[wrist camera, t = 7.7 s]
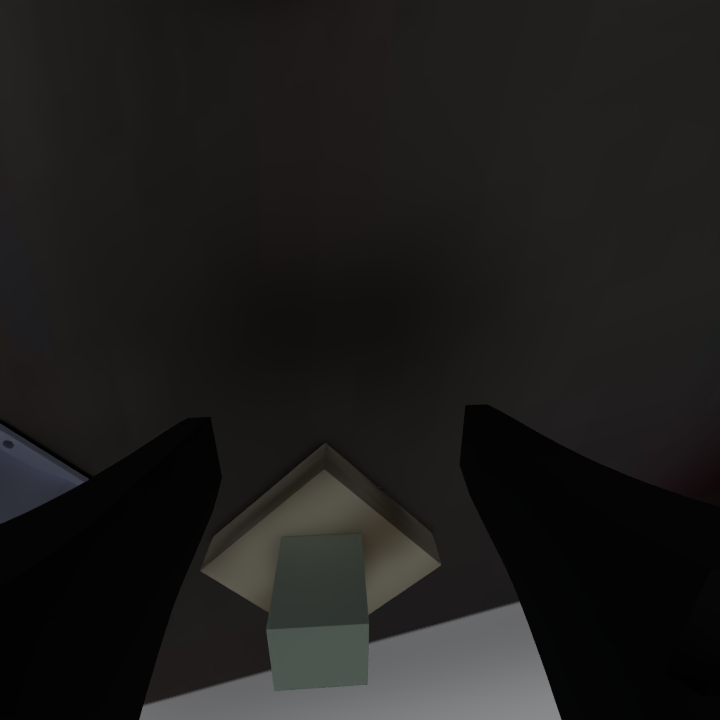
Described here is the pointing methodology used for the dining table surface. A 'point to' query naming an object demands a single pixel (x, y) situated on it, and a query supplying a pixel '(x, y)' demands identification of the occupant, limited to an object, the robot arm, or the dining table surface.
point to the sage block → (319, 613)
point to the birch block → (322, 531)
